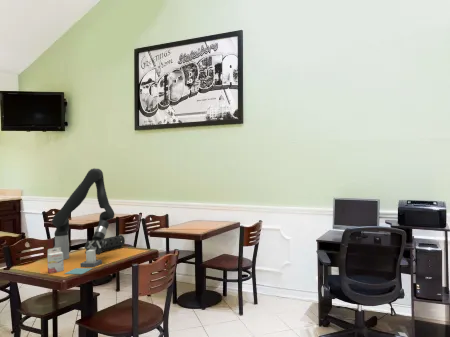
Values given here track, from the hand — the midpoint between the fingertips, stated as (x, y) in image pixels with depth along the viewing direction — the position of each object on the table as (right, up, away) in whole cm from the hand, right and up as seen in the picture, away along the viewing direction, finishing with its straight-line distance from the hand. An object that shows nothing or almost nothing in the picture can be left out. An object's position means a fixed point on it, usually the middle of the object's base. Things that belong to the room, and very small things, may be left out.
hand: (92, 254), depth 248 cm
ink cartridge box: (-18, -8, -13) cm, 24 cm away
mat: (-3, -7, -16) cm, 18 cm away
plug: (0, -7, -1) cm, 7 cm away
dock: (0, -7, -1) cm, 7 cm away
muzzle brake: (-4, -8, +44) cm, 45 cm away
